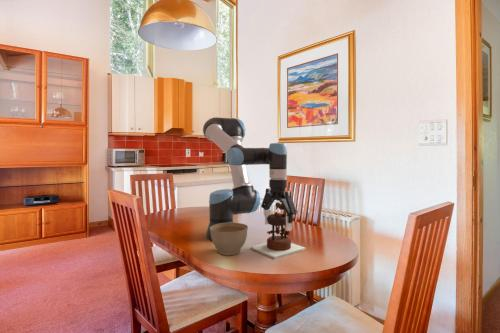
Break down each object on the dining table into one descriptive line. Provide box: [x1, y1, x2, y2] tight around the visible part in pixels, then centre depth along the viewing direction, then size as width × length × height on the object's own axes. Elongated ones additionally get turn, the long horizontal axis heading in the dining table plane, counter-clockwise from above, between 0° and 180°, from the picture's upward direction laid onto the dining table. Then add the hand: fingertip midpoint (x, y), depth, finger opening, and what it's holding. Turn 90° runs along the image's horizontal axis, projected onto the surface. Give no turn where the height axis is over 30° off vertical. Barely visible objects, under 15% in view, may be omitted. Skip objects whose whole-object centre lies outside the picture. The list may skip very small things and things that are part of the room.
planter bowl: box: [210, 222, 249, 256], centre depth 127 cm, size 16×16×11 cm
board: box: [250, 242, 307, 259], centre depth 131 cm, size 16×18×1 cm
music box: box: [266, 201, 292, 251], centre depth 130 cm, size 15×11×20 cm
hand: (277, 227), depth 131 cm, fingers open, 13 cm apart
